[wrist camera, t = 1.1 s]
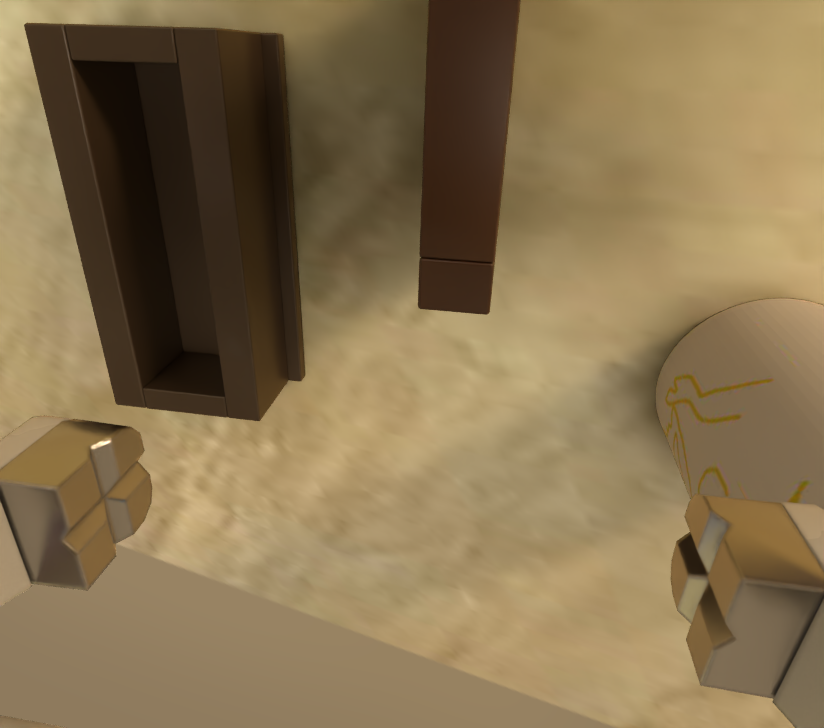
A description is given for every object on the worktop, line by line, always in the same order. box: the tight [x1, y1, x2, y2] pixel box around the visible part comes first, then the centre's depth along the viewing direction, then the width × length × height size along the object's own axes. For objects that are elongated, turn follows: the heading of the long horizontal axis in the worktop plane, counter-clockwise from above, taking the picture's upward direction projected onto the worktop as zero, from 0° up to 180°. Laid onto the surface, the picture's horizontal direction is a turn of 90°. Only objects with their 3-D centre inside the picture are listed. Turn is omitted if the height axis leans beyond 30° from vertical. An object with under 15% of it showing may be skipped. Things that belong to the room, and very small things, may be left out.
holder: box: [24, 23, 305, 421], centre depth 23 cm, size 8×14×4 cm, turn 179°
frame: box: [418, 0, 521, 314], centre depth 17 cm, size 2×10×8 cm, turn 178°
